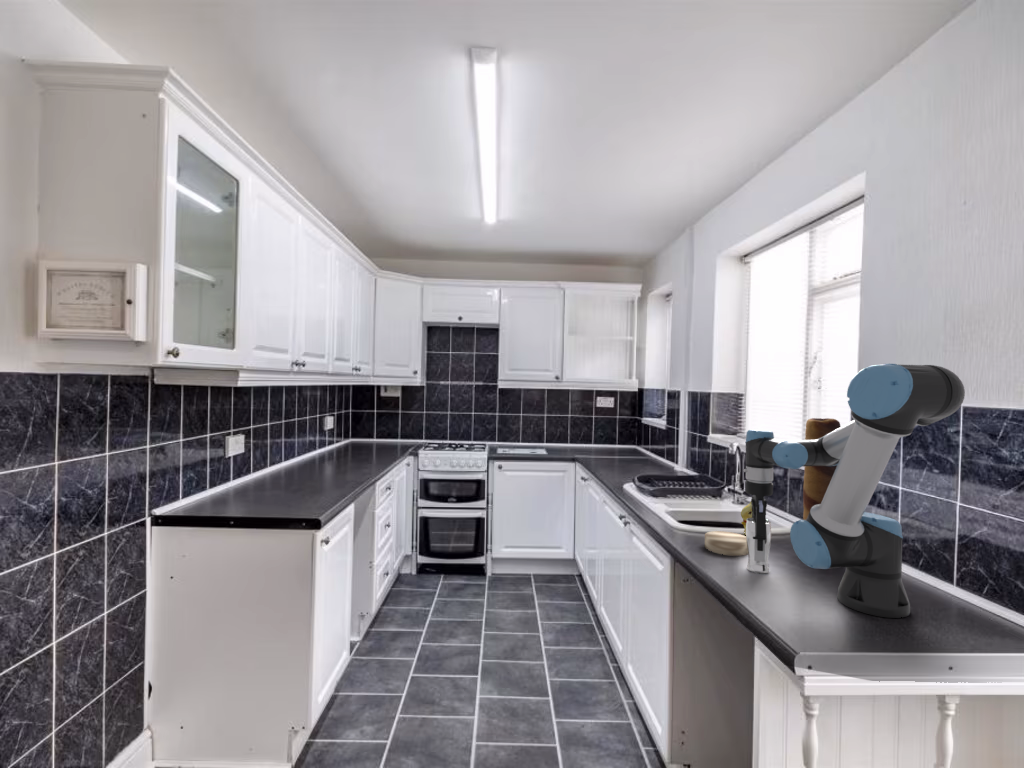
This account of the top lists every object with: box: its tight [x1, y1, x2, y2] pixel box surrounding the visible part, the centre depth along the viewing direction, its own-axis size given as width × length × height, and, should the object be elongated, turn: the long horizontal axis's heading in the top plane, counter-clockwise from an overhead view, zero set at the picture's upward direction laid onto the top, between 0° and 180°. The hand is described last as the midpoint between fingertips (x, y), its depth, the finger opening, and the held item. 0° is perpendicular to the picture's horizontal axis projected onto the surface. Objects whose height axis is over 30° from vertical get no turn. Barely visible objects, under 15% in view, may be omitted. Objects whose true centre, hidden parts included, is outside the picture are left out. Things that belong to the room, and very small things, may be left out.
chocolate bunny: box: [740, 501, 752, 536], centre depth 189 cm, size 7×11×15 cm, turn 88°
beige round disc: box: [704, 530, 748, 557], centre depth 174 cm, size 14×14×4 cm
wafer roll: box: [802, 417, 842, 520], centre depth 170 cm, size 10×11×45 cm
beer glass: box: [746, 518, 772, 575], centre depth 154 cm, size 7×7×15 cm
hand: (758, 556), depth 154 cm, fingers closed on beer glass, 7 cm apart
